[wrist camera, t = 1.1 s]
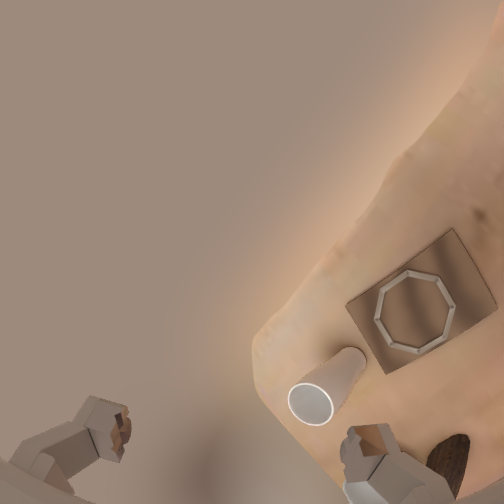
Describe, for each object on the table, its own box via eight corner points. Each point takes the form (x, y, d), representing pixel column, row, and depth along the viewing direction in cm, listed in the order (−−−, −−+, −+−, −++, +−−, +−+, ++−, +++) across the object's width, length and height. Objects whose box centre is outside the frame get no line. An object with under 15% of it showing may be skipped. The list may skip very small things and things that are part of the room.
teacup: (390, 431, 42) (375, 459, 35) (433, 466, 36) (424, 496, 30) (339, 466, 48) (321, 491, 42) (379, 497, 42) (364, 524, 36)
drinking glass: (326, 354, 49) (277, 394, 37) (355, 333, 45) (313, 373, 34) (348, 384, 47) (305, 432, 35) (379, 366, 43) (344, 416, 31)
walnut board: (452, 228, 35) (452, 228, 33) (496, 306, 31) (498, 310, 30) (347, 304, 46) (342, 307, 44) (387, 371, 42) (384, 377, 41)
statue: (464, 468, 32) (422, 580, 13) (426, 467, 37) (370, 573, 18) (473, 432, 32) (439, 553, 13) (432, 432, 37) (377, 546, 18)
